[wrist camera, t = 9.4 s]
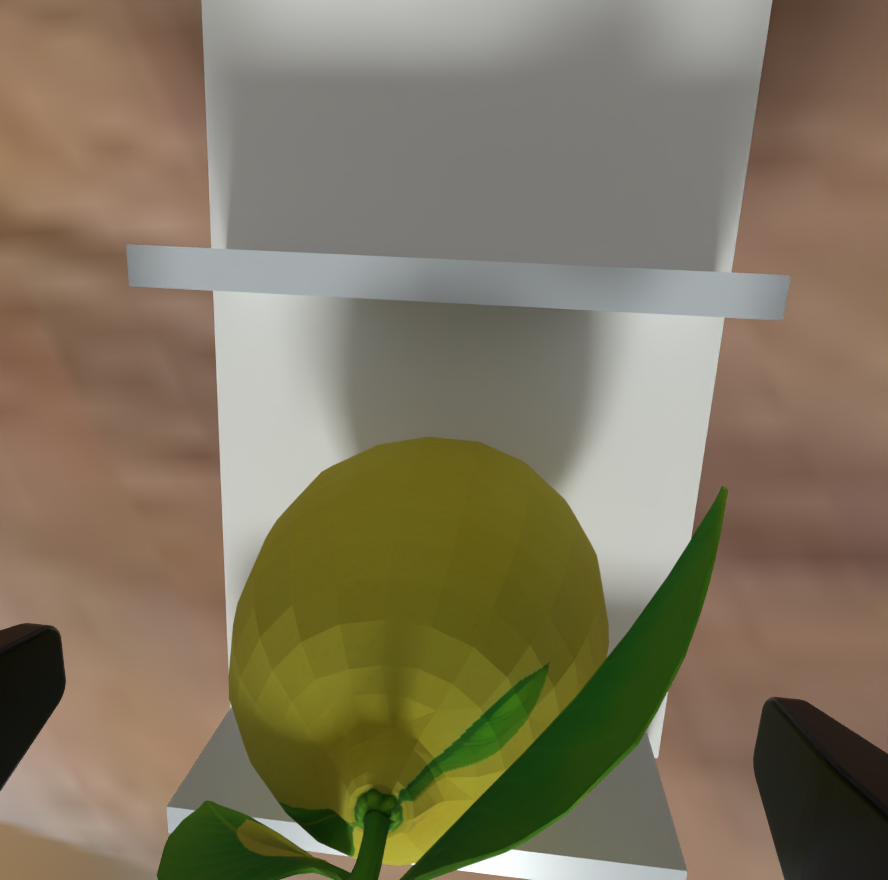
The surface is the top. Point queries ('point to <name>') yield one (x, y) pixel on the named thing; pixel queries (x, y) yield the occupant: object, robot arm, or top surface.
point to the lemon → (432, 667)
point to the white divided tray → (477, 293)
